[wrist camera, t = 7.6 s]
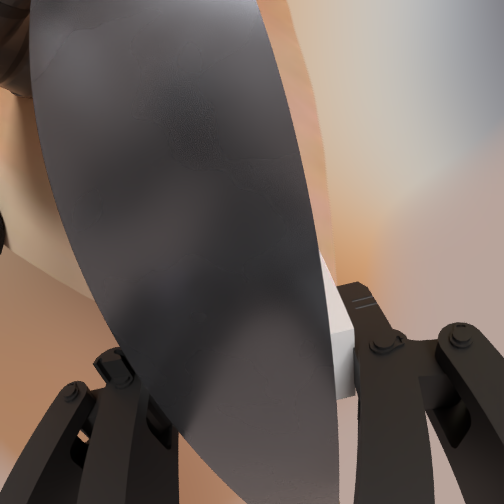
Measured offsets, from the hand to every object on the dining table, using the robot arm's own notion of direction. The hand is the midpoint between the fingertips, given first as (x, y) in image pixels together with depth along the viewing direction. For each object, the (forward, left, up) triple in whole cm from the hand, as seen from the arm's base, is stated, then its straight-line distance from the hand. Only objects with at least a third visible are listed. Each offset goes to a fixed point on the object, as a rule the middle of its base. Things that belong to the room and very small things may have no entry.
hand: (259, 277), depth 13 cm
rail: (0, 0, +2) cm, 2 cm away
